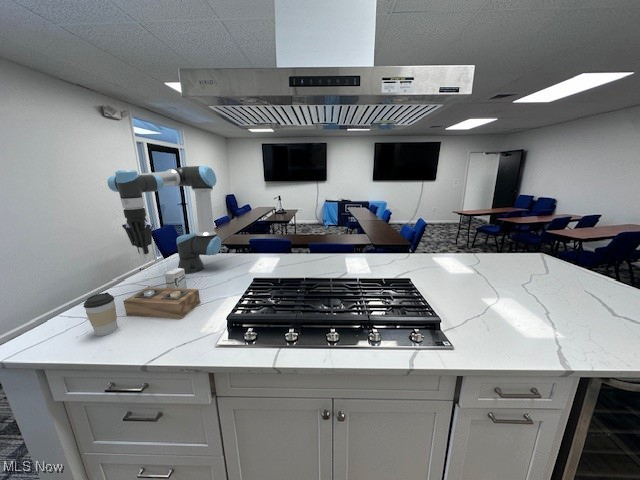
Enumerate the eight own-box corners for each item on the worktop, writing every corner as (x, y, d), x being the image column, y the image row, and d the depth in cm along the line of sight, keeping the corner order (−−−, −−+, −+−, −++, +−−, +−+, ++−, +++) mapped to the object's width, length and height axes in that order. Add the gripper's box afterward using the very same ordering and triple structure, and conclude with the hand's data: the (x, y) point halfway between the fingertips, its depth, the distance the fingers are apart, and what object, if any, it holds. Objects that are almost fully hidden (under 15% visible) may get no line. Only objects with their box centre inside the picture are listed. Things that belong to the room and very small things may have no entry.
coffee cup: (97, 340, 93) (87, 304, 89) (87, 333, 97) (77, 298, 93) (125, 327, 100) (117, 293, 96) (114, 321, 104) (106, 289, 101)
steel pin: (151, 303, 117) (148, 289, 115) (159, 303, 117) (156, 290, 115) (144, 307, 113) (141, 293, 112) (152, 308, 113) (149, 294, 111)
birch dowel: (176, 304, 115) (174, 290, 114) (184, 305, 115) (182, 291, 113) (170, 309, 112) (168, 294, 110) (178, 309, 111) (176, 295, 109)
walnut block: (151, 300, 123) (148, 286, 121) (200, 302, 120) (198, 288, 118) (126, 315, 109) (122, 300, 107) (181, 318, 106) (178, 302, 104)
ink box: (175, 295, 127) (172, 274, 124) (167, 295, 128) (163, 273, 125) (187, 288, 135) (184, 268, 132) (179, 287, 136) (176, 267, 133)
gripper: (112, 209, 102) (125, 263, 109) (140, 209, 101) (152, 263, 107) (127, 206, 110) (139, 257, 116) (154, 206, 108) (164, 258, 114)
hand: (145, 260), depth 112 cm, fingers closed
